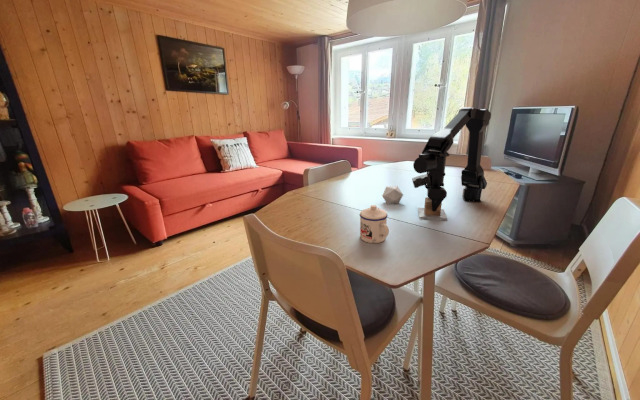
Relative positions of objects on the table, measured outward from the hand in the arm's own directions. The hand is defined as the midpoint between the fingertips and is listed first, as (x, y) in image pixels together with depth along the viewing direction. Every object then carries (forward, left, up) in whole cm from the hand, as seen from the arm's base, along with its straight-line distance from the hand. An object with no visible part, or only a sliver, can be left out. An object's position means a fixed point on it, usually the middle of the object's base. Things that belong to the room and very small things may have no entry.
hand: (432, 207), depth 104 cm
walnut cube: (0, 0, -2) cm, 2 cm away
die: (+16, -11, -3) cm, 20 cm away
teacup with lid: (+20, +26, -3) cm, 33 cm away
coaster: (0, 0, -3) cm, 3 cm away
